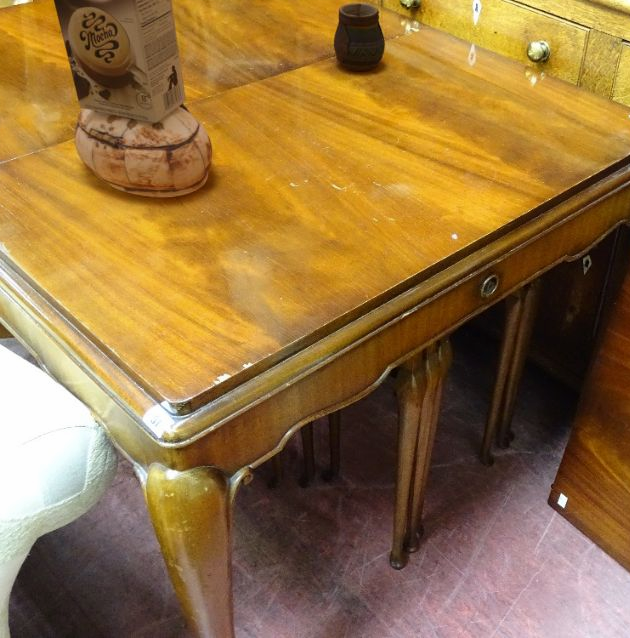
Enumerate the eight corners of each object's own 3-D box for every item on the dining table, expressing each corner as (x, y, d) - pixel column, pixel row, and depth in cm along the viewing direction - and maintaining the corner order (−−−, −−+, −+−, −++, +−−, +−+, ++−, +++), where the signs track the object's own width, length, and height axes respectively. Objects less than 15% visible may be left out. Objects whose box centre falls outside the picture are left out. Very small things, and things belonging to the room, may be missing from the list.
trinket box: (205, 206, 81) (194, 136, 76) (59, 201, 80) (38, 131, 75) (228, 146, 91) (220, 81, 86) (99, 141, 90) (83, 76, 85)
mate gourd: (378, 54, 115) (379, -16, 109) (390, 74, 110) (391, 2, 103) (330, 57, 113) (328, -14, 107) (340, 77, 108) (338, 4, 101)
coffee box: (77, 109, 79) (33, -62, 69) (114, 86, 84) (79, -77, 73) (156, 125, 77) (123, -48, 67) (189, 100, 82) (164, -65, 72)
